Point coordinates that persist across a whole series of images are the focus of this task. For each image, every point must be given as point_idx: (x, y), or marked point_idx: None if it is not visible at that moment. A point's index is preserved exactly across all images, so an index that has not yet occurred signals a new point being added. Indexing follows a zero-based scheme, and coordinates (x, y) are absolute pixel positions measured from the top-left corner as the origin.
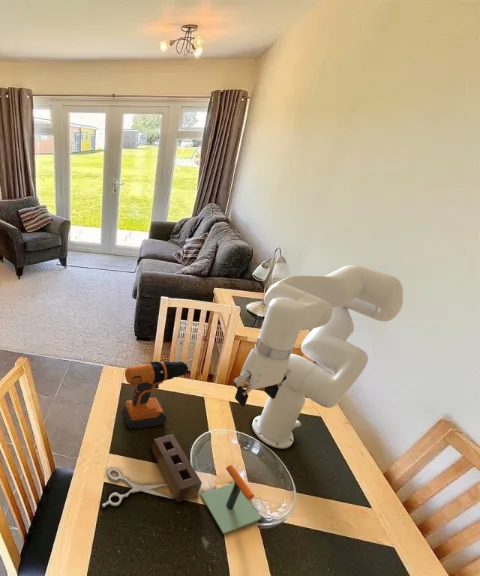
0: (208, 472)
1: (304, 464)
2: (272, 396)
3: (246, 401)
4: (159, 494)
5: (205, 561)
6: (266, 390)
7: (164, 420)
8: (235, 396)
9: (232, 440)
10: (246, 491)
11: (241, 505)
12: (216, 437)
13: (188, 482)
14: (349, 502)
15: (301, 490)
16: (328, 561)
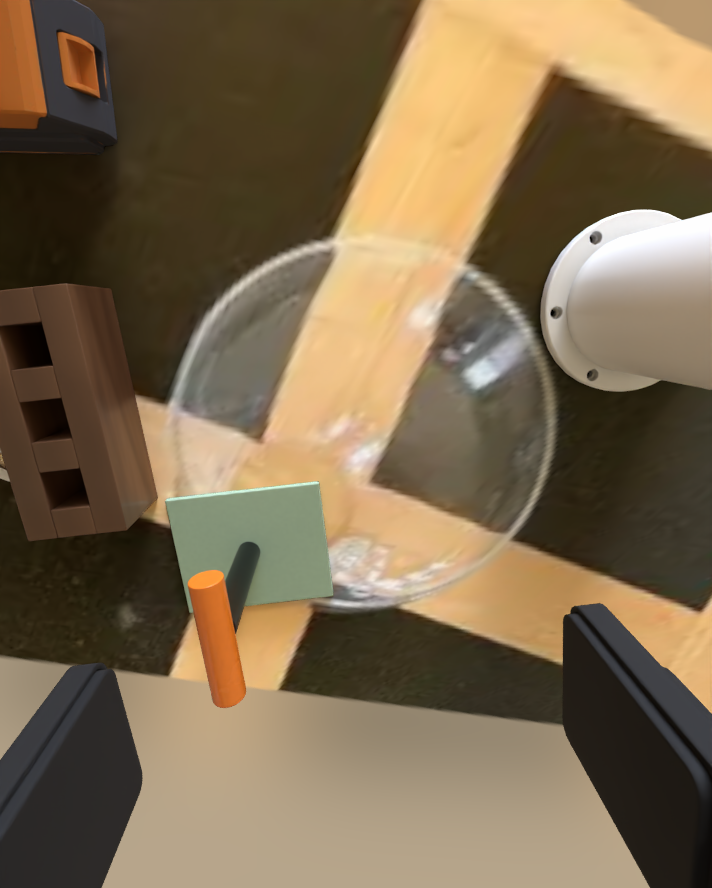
0: (235, 427)
1: (627, 460)
2: (579, 750)
3: (109, 866)
4: (8, 478)
5: (110, 655)
6: (583, 660)
7: (107, 141)
8: (60, 687)
9: (416, 311)
10: (214, 690)
11: (290, 555)
12: (351, 282)
13: (69, 522)
14: (651, 591)
15: (533, 538)
16: (447, 697)
